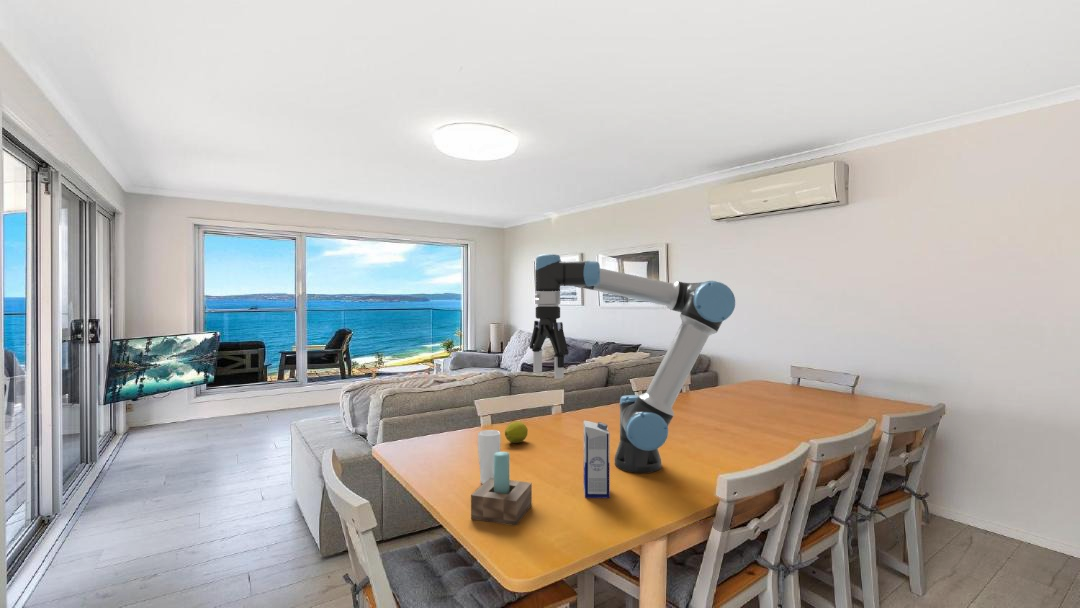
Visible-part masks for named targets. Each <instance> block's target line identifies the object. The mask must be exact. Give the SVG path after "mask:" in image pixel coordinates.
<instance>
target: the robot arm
mask: <svg viewBox="0 0 1080 608" xmlns="http://www.w3.org/2000/svg"><path fill="white" fill-rule="evenodd" d="M534 273H535V295H534V298H535V305H536V306H535V319H538V320H534V323H533V330H532V335H531V339H530V342H529V343H530V344H529V349H530V350H532V352H533V358H532V359H533V361H532V362H533V367H532V369H533V371H532V372H533V373H542V372H543V349H542V347H543V345H544V343H545V341H546V338H548V339H549V341H550V343H551V346H552V348H553V351H554V358H553V359H554V367H553V368H554V370H553V372H554V374H553V376H554V378H553V379H554V380H561V379H565V374H564V373H565V372H564V371H565V370H564V369H565V356H567V355H569V349H568V344H567V340H566V336H565V332H564V326H563V325H564V324H563V321H559V322H557V320H559V319H560V318H561V307H560V306H559V305H561V287H575V288H580V289H581V288H582V289H586V290H590V291H596V292H601V293H606V294H611V295H615V296H620V297H623V298H629V299H633V300H636V301H637V300H638V301H642V302H647V303H652V304H656V305H661V306H666V307H668V309H669V310H670V311H675V312H677V313H678V312H679V313H680V314H679V317H680V320H681V324H680V325H679V328H678V329H677V331H676V333H675V335H674V337H673V339H672V341H671V342H670V343H671V344H670V345H669V347H668V349H667V351H666V353H665V354H664V357H663V359H662V360H661V362H660V364H659V366H658V368H657V370H656V372H655V374H654V376H653V378H652V380H651V382H650V384H649V386H648V388H647V390H646V391H645V392H644V393H640V394H630V395H629V394H627V395H622V396H620V400H619V404H618V405H619V443H618V445H617V449H616V452H615V454H614V466H616V468H618V469H619V470H622V471H625V472H628V473H629V472H630V473H635V474H651V473H655V472H657V471H659V470H661V469H662V458H661V456H660V451H659V448H660V447H661V448H662V446H663V445H665V443H666V441H667V439H668V436H669V426H670V423H671V421H672V419H673V417H674V416H675V413H674V410H673V406H674V403H675V402H676V400H677V398H678V396H679V394H680V392H681V391H682V388H683V387H684V385H685V383H686V382H687V379H688V377H689V375H690V373H691V371H692V369H693V367H694V365H695V363H696V362H697V360H698V357H699V356H700V354H701V352H702V350H703V348H704V346H705V345H706V343H707V340H708V338H709V337H710V336H712V335H714V334H717V333H718V332H719V329H720V327H721V325H722V324H723V322H725V321H726V320H727V319H729V318H730V317H731V315H732V314H733V312H734V310H735V308H736V296H735V294H734V292H733V290H732V289H731V288H730V287H729V286H728V285H727V284H724V283H722V282H721V281H716V280H707V281H703V282H702V281H701V282H682V281H678V280H677V281H675V282H673V283H672V282H667V281H663V280H659V279H658V280H657V279H652V278H647V277H644V276H637V275H634V274H630V273H624V272H619V271H614V270H611V269H605V268H601V266H600V263H599V262H598V261H591V260H585V261H582V260H578V261H565V260H564V261H562V259H561V256H560V255H559V254H539V255H537V256H536V257H535V272H534Z"/></svg>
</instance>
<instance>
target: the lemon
mask: <svg viewBox="0 0 1080 608" xmlns="http://www.w3.org/2000/svg"><path fill="white" fill-rule="evenodd" d="M528 430H529V429H528V427H527V425H526V424H525V423H524V422H522V421H513V422H511V423H509V424H508V425H507V426H506V428H505V429H504V437H505V438H506V440H507V441H509V442H510V443H512V444H519V443H522V442H524V440H525V439H526V438H527V436H528Z"/></svg>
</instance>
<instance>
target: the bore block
mask: <svg viewBox="0 0 1080 608" xmlns="http://www.w3.org/2000/svg"><path fill="white" fill-rule="evenodd" d="M532 486H533V485H532V482H527V481H519V480H512V479H511V480H510V479H509V494H503V493H495V492H494V478H489V479H488V480H487V481H486V482H485V483H484V484H481V485H479V487H478V488H477V489H476V490H475V491H474V492H473V493H472V494H471V495H470V519H471V520H477V521H481V522H482V521H483V522H490V523H497V524H502V525H510V526H515V527H516V526H518V524H519V523H520V521H521V520H522V519H523V518H524V516H525V514H526V513H527V512H529V511H528V510H530V509H531V507H532V504H533V503H532V501H533V500H532V498H533V497H532V495H533V494H532V491H533V490H532V489H533V488H532Z"/></svg>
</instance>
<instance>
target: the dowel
mask: <svg viewBox="0 0 1080 608" xmlns="http://www.w3.org/2000/svg"><path fill="white" fill-rule="evenodd" d="M509 480H510V452H509V451H508V452H507V451H500V452H496V453H494V492H495V493H503V494H509Z"/></svg>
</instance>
